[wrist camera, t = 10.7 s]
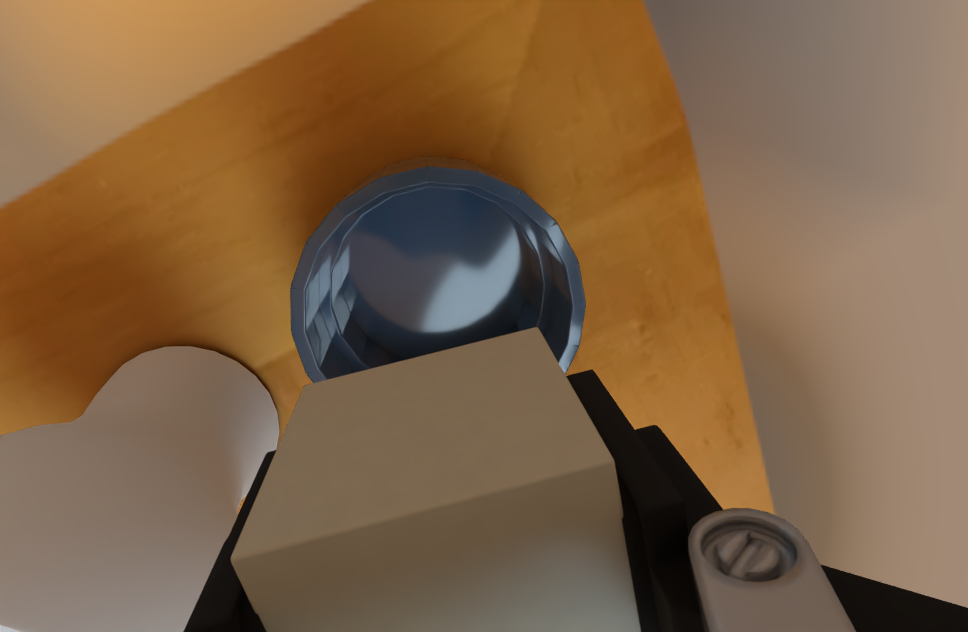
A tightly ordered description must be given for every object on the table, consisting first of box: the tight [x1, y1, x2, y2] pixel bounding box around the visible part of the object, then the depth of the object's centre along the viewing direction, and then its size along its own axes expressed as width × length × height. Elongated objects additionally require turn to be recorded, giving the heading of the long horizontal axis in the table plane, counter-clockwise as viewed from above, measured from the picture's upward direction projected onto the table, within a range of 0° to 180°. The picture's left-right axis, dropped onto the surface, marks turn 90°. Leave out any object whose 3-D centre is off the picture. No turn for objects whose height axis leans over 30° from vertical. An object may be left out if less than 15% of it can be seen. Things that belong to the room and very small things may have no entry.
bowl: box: [290, 156, 586, 383], centre depth 22 cm, size 10×10×6 cm
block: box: [231, 327, 641, 632], centre depth 9 cm, size 4×4×4 cm
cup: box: [0, 346, 280, 632], centre depth 19 cm, size 11×11×15 cm
